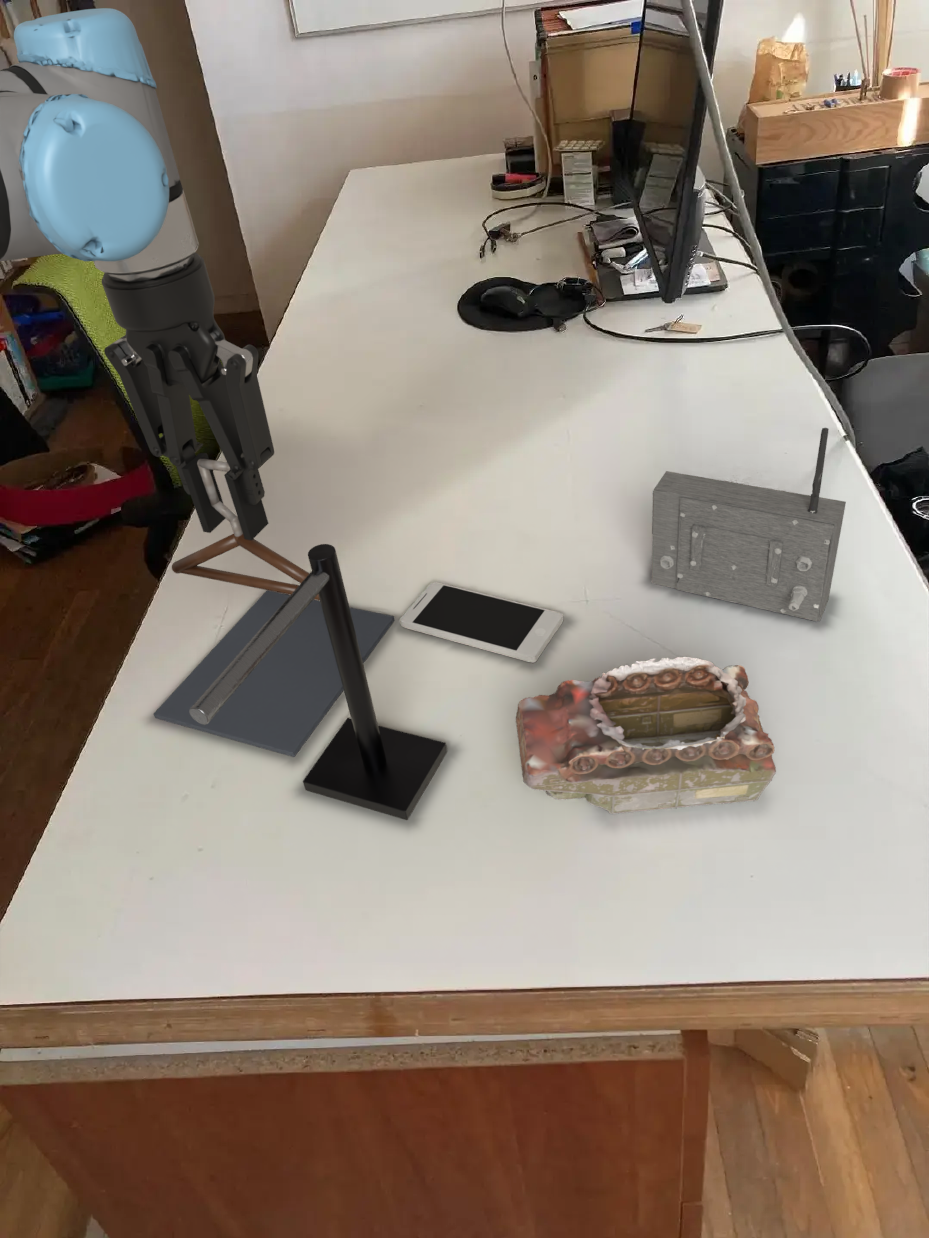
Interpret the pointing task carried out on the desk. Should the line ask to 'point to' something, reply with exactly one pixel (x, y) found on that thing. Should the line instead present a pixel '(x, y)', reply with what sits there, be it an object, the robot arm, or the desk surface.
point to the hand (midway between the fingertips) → (235, 527)
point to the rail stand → (361, 750)
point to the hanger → (237, 539)
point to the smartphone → (483, 621)
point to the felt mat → (274, 678)
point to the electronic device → (747, 541)
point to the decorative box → (648, 738)
